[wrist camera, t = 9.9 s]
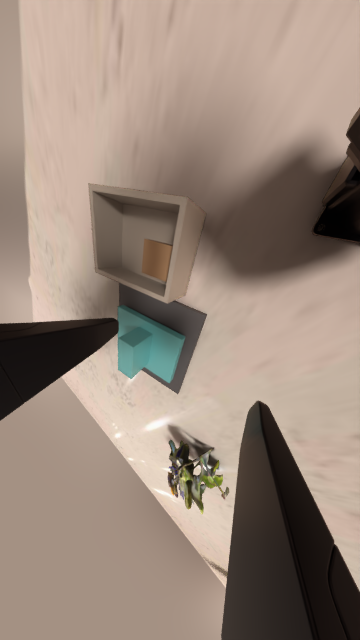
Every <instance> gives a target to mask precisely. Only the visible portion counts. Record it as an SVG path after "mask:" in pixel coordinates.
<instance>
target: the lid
mask: <svg viewBox="0 0 360 640" xmlns="http://www.w3.org/2000/svg"><path fill="white" fill-rule="evenodd" d="M118 322H119V331H118V370H119V371H121V372H122V373H123V374H125V375H126V376H128V377H129V378H130V379H132V378H133V377H134V376H135V375H136V374H137V373H138V372H139V371H140V370H141V369H143V368H144V367H145V368H147V369H148V370H150V371H151V372H153V373H154V374H156V375H157V376H159V377H160V378H162V379H163V380H165V381H166V382H168V383H170V382H171V381H172V379H173V376H174V373H175V370H176V366H177V363H178V360H179V356H180V353H181V350H182V347H183V343H184V340H185V336H183V335H181V334H179V333H178V332H176V331H174V330H172V329H170V328H168V327H166V326H164V325H162V324H160V323H158V322H156V321H154V320H152V319H150V318H148V317H146V316H144V315H142V314H140V313H138V312H136V311H134V310H132V309H130V308H128V307H126V306H124V305H121V306H118Z"/></svg>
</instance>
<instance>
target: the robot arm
mask: <svg viewBox="0 0 360 640" xmlns="http://www.w3.org/2000/svg"><path fill="white" fill-rule="evenodd" d="M346 136H347V138H348V139H349V140H350V142H351V143H350V145H349V146H348V149H347V152H346V153H347V155H348V156H349V157H348V158H347V159H346V160H345V162H344V164H343V165H342V167H341V169H340V171H339V172H338V174H337V176H336V178H335V180H334V181H333V183H332V185H331V187H330V188H329V190H328V192H327V194H326V195H325V197H324V199H323V201H322V204H323V206H325V208H324V209H323V211H322V213H321V214H320V216H319V218H318V220H317V221H316V223H315V225H314V226H313V228H312V233H313V234H314V235H317V236H323V237H328V238H334V239H340V240H345V241H351V242H356V243H360V108H359V109H358V111H357V112H356V114H355V115H354V117H353V118H352V120H351V122H350V125H349V128H348V130H347V133H346ZM319 225H322V226H323V227H324V228H323V230H322V231H317V227H318V226H319ZM118 331H119V322H118V320H116V319H114V318H102V319H85V320H68V321H51V322H33V323H8V324H0V420H2V419H3V418H5V417H6V416H7V415H9V414H10V413H11V412H13V411H14V410H16V409H17V408H18V407H20V406H21V405H23V404H24V403H25V402H26V401H28V400H29V399H31V398H32V397H34V396H35V395H36V394H38V393H39V392H40V391H42V390H43V389H45V388H46V387H47V386H49V385H50V384H51V383H53V382H54V381H56V380H57V379H58V378H60V377H61V376H63V375H64V374H65V373H67V372H68V371H70V370H71V369H72V368H74V367H75V366H77V365H78V364H79V363H81V362H82V361H83V360H85V359H86V358H88V357H89V356H90V355H92V354H93V353H95V352H96V351H97V350H99V349H100V348H101V347H102V346H103V345H105V344H106V343H107V342H108V341H109V340H110V339H112V338H113V337H114V336H115V335H116V334H117V333H118ZM221 638H222V640H360V591H359V589H358V587H357V585H356V583H355V581H354V579H353V577H352V575H351V573H350V571H349V569H348V567H347V565H346V563H345V561H344V559H343V557H342V555H341V553H340V551H339V549H338V547H337V546H336V545H335V544H334V539H333V537H332V535H331V533H330V531H329V529H328V527H327V525H326V523H325V521H324V519H323V517H322V515H321V513H320V511H319V508H318V506H317V504H316V502H315V500H314V498H313V496H312V494H311V492H310V490H309V488H308V486H307V484H306V482H305V480H304V478H303V476H302V474H301V472H300V470H299V468H298V466H297V464H296V462H295V460H294V458H293V456H292V454H291V451H290V449H289V447H288V445H287V443H286V441H285V439H284V437H283V435H282V433H281V431H280V429H279V427H278V425H277V423H276V421H275V419H274V417H273V415H272V413H271V411H270V409H269V407H268V406H267V405H266V404H264V403H263V402H261V401H257V402H256V403H255V404H254V405H253V406H252V407H251V408H250V410H249V412H248V415H247V419H246V424H245V429H244V433H243V438H242V443H241V448H240V456H239V466H238V476H237V486H236V495H235V505H234V515H233V525H232V535H231V545H230V555H229V565H228V575H227V584H226V595H225V605H224V615H223V624H222V634H221Z"/></svg>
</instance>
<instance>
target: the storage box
mask: <svg viewBox="0 0 360 640" xmlns="http://www.w3.org/2000/svg"><path fill="white" fill-rule="evenodd" d="M88 185H89V198H90V210H91V223H92V235H93V248H94V260H95V272H97V273H99V274H101V275H104V276H106V277H108V278H110V279H113V280H115V281H117V282H119V283H122V284H124V285H126V286H128V287H131V288H133V289H135V290H138V291H140V292H142V293H144V294H147V295H149V296H151V297H153V298H156V299H158V300H160V301H162V302H165V303H167V304H168V303H170V302H172V301H174V300H176V299H178V298H181V297H183V296H185V295H186V291H187V287H188V283H189V279H190V275H191V271H192V268H193V264H194V260H195V256H196V252H197V248H198V244H199V240H200V236H201V232H202V228H203V224H204V220H205V216H206V213H205V212H204V211H203V210H202V209H201V208H200V207H198V206H197V205H196V204H195V203H194V202H193V201H192V200H191V199H189V198H188V197H184V196H177V195H169V194H162V193H155V192H148V191H140V190H133V189H126V188H119V187H111V186H104V185H97V184H90V183H88ZM144 239H149V240H154V241H160V242H163V243H167V244H170V245H173V249H172V255H171V260H170V266H169V272H168V278H167V282H165V281H163V280H160V279H157V278H155V277H152V276H149V275H147V274H144V273H142V260H143V248H144Z"/></svg>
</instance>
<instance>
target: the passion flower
mask: <svg viewBox="0 0 360 640" xmlns="http://www.w3.org/2000/svg"><path fill="white" fill-rule="evenodd" d="M169 445H170V447H171V454H170V456H169V457H170V458H169V459H170V460H171V461H172V467H169V468H170V469H171V470H170V471H172V473H169V472H168V483H169V487H171V492H172V494H173V495H174V494H175V496H176V497H178V492H177V485H178V484H179V490H180V495H182V497H183V500H184V496H185V505H186V508H187V509H190V508H191V505H192V503H193V500H194V501H195V502H196V504H197V506H198V507H199V509H200V511H201V514H203V508H204V507H203V503H202V494H203V493H204V490H205V488H206V486H207V487H208V488H213V487H215V486H216V487H217V486H218V488H219V489H220V491H221V492H222V497H223V499H225V497H226V496H227V495H228V493H229V488H228V487H227V488H226V491H225V492H224V493H223V491H222V489H221V488H220V487H219V486H220V485H221V484H222V481H223V475H215V471H216V469H217V468H218V466H219V460H218V461H217V463H216V464H215V466H214V467H213V468H211V469H209V468H208V467H207V462H208V459H209V454H210V452H211V451H212V450H213V449H214V448H212V449H210V450H209V451H208V452H207V453H204V454H202V455H200V456H199V458H198V459H195V460H193V461H192V460H190V459H189V446H188V445H187V444H184V443H183V441H182V440H181V442H180V447H179V448H178V449H176V447H175V444H174V442H173V441H172V440H170V441H169ZM199 460H200V461H199ZM196 461H199V462H198V463H197V465H196V466H195V467H197V466H198V465H200V466H201V473H200V475H198V476H196V475H193V470H194V468H195V467H194V464H193V463H194V462H196ZM202 463H203V464H204V466H205V467H206V469H207V471H205V470H204V468H203V465H202ZM174 475H175V476H176V478H175V479H174ZM202 481H203V482H204V483H205V485H204V484H201V482H202ZM176 482H177V483H176ZM200 484H201V485H200ZM192 499H193V500H192ZM193 504H194V503H193Z"/></svg>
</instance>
